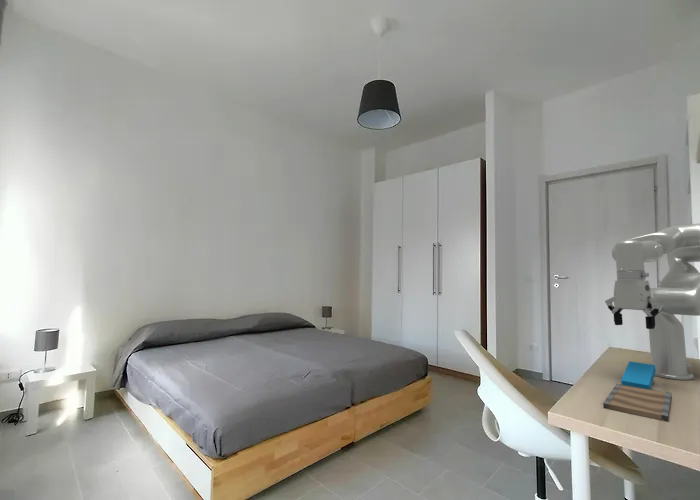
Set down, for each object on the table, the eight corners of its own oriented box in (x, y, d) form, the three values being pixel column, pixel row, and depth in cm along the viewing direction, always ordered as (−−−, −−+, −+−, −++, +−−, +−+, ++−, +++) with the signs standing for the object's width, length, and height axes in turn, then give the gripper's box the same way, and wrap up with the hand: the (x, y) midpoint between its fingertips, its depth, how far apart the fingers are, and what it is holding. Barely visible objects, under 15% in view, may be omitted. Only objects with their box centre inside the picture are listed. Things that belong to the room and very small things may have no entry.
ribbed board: (616, 387, 111) (616, 383, 111) (671, 397, 102) (671, 392, 102) (603, 407, 94) (603, 402, 94) (668, 421, 85) (668, 416, 85)
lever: (651, 406, 108) (658, 379, 120) (648, 385, 107) (656, 360, 119) (623, 400, 113) (633, 375, 125) (621, 380, 112) (631, 356, 124)
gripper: (667, 276, 112) (671, 329, 111) (611, 276, 128) (614, 323, 127) (653, 276, 109) (656, 330, 108) (597, 276, 126) (600, 324, 124)
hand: (633, 326), depth 117 cm, fingers open, 9 cm apart
